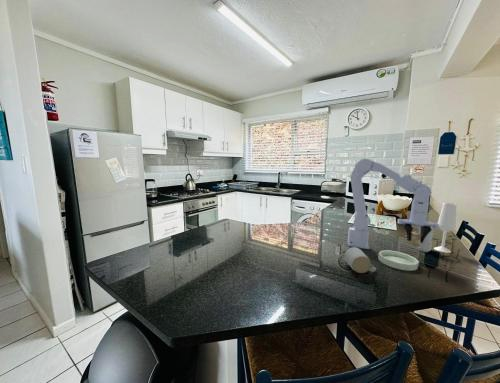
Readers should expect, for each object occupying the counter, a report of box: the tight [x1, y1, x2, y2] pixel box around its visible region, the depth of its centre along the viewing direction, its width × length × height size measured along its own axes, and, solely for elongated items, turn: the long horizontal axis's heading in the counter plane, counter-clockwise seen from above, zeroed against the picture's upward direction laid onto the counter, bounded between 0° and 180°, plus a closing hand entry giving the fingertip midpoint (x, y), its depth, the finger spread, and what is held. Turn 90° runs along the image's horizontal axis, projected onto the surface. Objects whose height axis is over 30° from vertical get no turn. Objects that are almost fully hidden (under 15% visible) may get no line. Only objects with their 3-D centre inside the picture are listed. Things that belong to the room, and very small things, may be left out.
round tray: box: [377, 249, 420, 272], centre depth 91 cm, size 14×14×3 cm
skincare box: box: [416, 227, 435, 253], centre depth 107 cm, size 6×4×12 cm
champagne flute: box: [433, 202, 457, 254], centre depth 107 cm, size 7×7×24 cm
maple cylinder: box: [408, 231, 421, 247], centre depth 96 cm, size 4×4×5 cm
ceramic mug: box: [343, 246, 377, 274], centre depth 84 cm, size 11×8×8 cm
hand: (414, 241), depth 96 cm, fingers closed on maple cylinder, 4 cm apart
